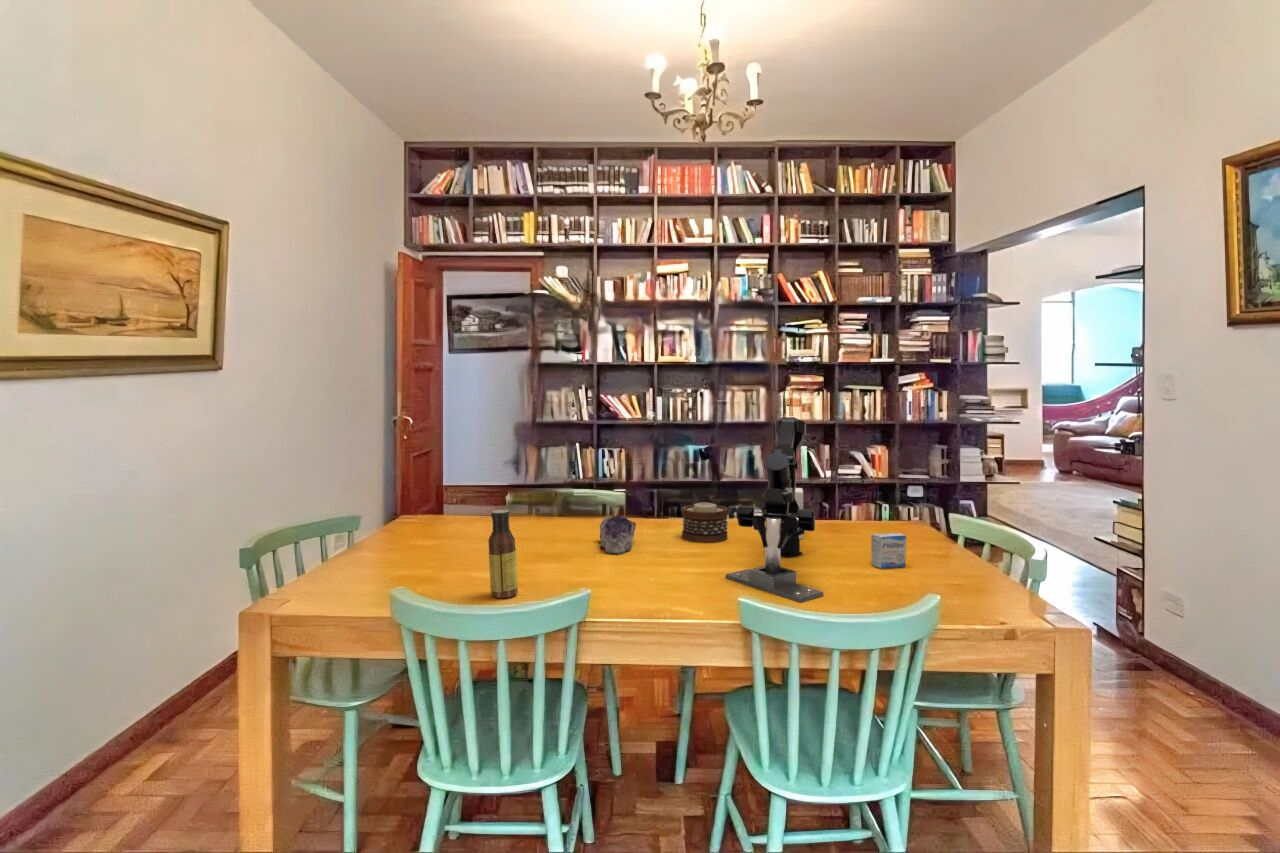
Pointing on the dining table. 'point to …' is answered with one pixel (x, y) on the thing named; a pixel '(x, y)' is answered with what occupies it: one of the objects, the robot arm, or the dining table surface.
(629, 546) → the geode
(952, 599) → the dining table surface
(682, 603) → the dining table surface
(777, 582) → the grey socket base plate
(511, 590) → the sauce bottle
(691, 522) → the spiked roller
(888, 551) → the medicine box
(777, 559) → the pin
